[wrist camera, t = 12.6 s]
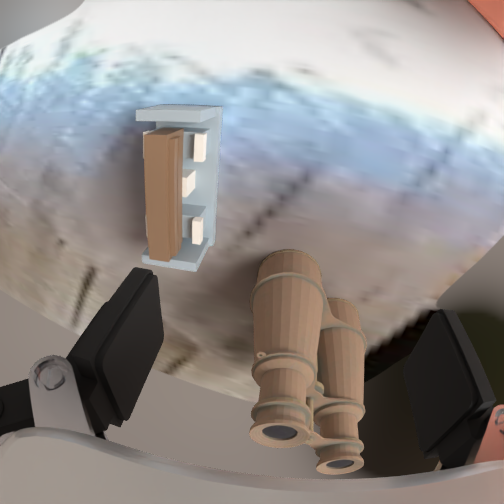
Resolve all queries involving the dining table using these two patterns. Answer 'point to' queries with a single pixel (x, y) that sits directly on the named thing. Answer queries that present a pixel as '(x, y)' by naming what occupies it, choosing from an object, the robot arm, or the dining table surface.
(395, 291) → the dining table surface
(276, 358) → the binoculars
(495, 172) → the dining table surface
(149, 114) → the display cradle
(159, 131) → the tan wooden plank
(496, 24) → the chair
